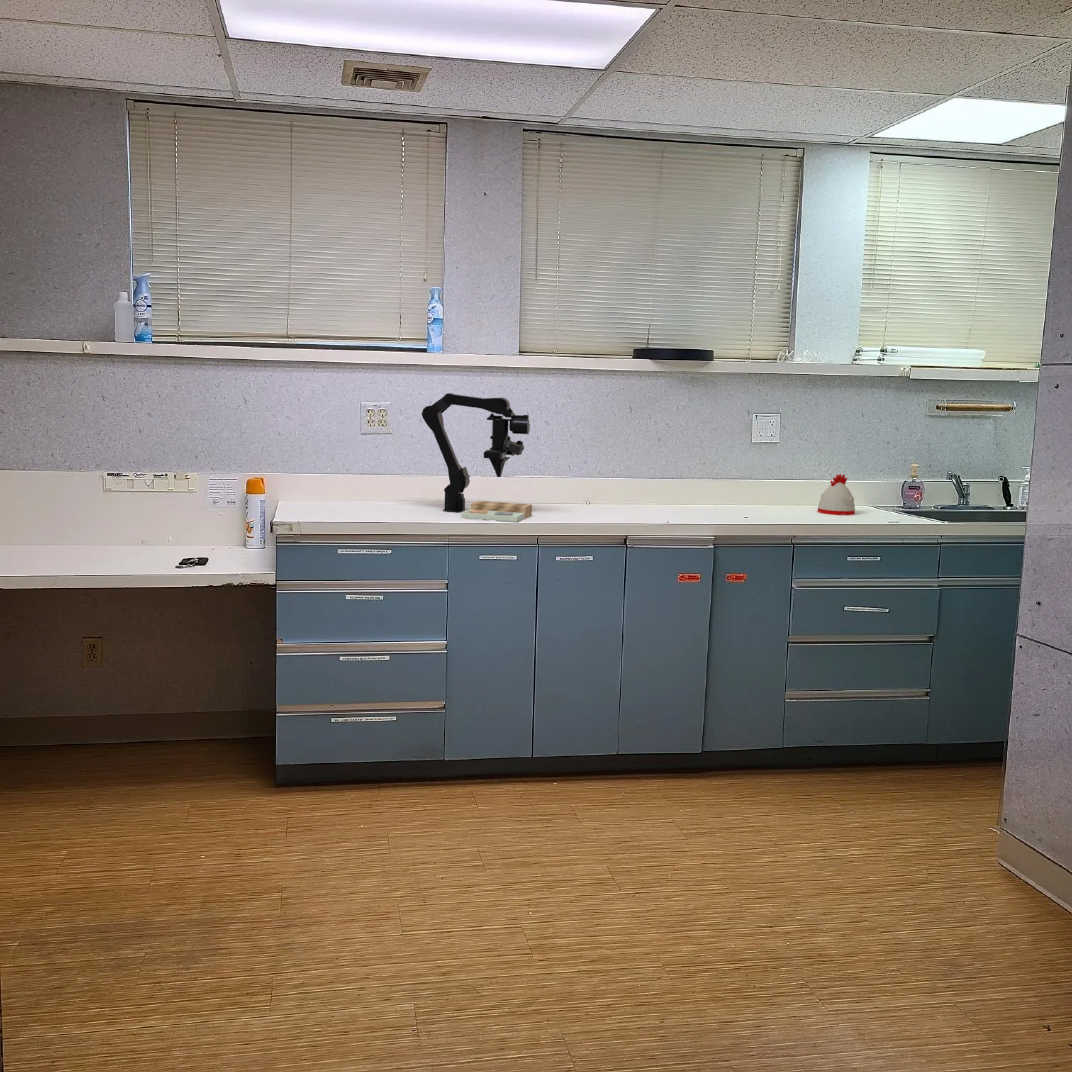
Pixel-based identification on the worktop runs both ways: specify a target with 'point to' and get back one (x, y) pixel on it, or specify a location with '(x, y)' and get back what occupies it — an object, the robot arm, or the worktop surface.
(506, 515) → the slate tile
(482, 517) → the tray
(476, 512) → the terracotta tile
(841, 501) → the kitchen timer
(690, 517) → the worktop surface
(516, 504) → the oak board
